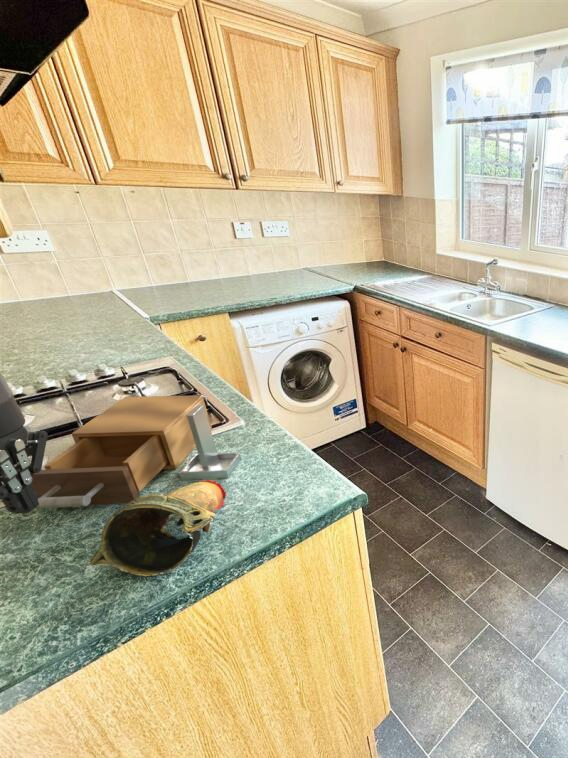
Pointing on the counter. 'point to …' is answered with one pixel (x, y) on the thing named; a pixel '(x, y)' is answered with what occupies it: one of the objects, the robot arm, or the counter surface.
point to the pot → (158, 529)
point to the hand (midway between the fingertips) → (26, 509)
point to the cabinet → (149, 423)
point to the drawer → (100, 471)
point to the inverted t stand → (207, 451)
